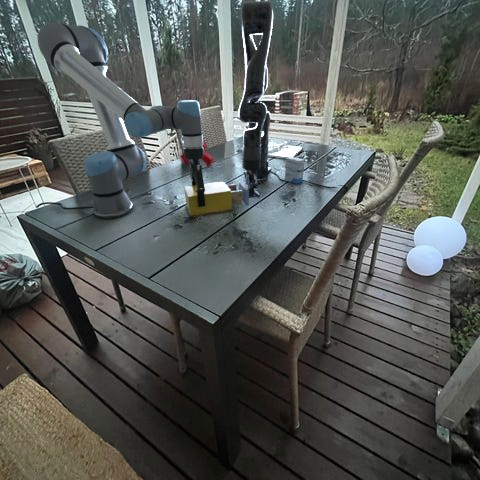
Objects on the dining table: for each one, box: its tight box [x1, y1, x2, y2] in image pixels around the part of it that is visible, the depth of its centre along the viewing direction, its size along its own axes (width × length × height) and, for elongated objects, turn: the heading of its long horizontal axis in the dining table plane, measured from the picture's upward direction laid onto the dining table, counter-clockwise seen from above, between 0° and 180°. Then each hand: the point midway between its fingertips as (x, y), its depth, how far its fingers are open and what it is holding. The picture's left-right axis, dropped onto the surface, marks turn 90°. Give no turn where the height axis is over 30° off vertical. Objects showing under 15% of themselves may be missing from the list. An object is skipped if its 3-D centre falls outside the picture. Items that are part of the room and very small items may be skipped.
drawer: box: [226, 181, 261, 207], centre depth 117 cm, size 22×10×7 cm, turn 108°
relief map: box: [268, 138, 304, 160], centre depth 192 cm, size 27×35×5 cm
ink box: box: [284, 156, 306, 185], centre depth 140 cm, size 8×5×12 cm, turn 47°
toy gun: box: [180, 139, 215, 167], centre depth 167 cm, size 18×4×15 cm
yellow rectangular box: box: [183, 181, 233, 218], centre depth 114 cm, size 17×11×9 cm, turn 108°
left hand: (198, 200), depth 113 cm, fingers closed on yellow rectangular box, 11 cm apart
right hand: (250, 196), depth 120 cm, fingers closed
